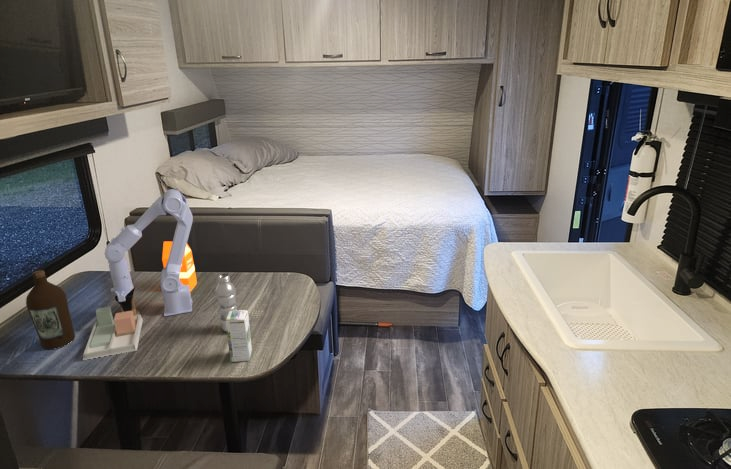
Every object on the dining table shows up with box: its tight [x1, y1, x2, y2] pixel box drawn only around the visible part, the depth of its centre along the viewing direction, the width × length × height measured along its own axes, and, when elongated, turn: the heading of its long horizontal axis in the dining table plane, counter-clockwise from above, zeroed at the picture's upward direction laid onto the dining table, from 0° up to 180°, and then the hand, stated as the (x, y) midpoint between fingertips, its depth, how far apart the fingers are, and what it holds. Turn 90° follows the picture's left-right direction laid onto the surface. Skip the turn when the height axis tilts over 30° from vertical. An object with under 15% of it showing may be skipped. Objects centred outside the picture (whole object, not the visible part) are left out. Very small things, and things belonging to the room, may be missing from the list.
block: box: [113, 311, 135, 334], centre depth 157 cm, size 5×5×5 cm
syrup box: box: [225, 309, 253, 363], centre depth 142 cm, size 6×6×14 cm
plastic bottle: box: [214, 272, 238, 333], centre depth 156 cm, size 6×7×20 cm
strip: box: [90, 306, 115, 348], centre depth 155 cm, size 14×6×6 cm, turn 19°
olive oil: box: [25, 269, 76, 350], centre depth 150 cm, size 11×11×25 cm
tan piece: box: [116, 297, 140, 337], centre depth 161 cm, size 14×6×6 cm, turn 19°
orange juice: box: [161, 240, 198, 293], centre depth 186 cm, size 8×9×20 cm
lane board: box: [82, 313, 144, 361], centre depth 155 cm, size 20×15×2 cm
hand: (129, 310), depth 166 cm, fingers closed on tan piece, 3 cm apart
